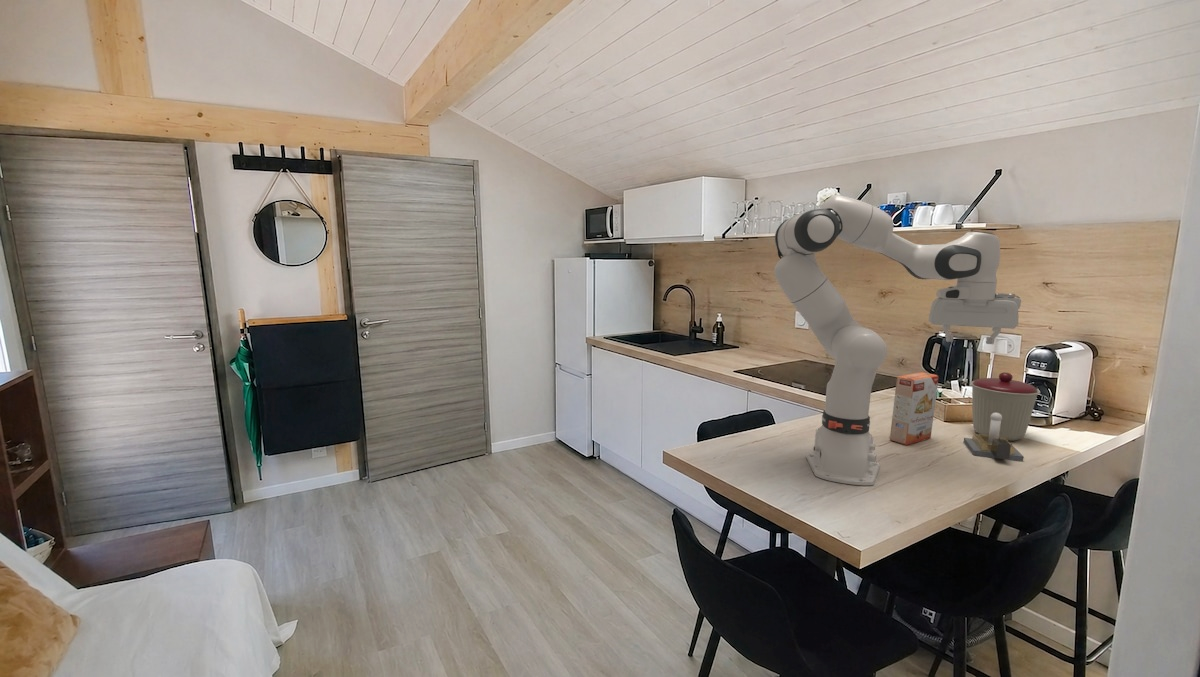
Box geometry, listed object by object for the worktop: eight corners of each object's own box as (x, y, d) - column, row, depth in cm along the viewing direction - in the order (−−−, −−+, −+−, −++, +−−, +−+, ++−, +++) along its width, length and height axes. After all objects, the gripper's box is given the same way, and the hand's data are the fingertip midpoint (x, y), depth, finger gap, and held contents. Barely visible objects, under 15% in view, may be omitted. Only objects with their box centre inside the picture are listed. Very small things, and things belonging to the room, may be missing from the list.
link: (972, 439, 167) (973, 427, 166) (1003, 443, 164) (1004, 430, 163) (985, 456, 153) (987, 442, 153) (1019, 460, 150) (1021, 446, 150)
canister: (1048, 444, 168) (1058, 378, 165) (997, 446, 165) (1006, 379, 162) (997, 425, 186) (1005, 366, 182) (951, 428, 183) (958, 367, 180)
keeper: (1023, 461, 154) (1028, 421, 152) (973, 455, 158) (978, 415, 156) (1009, 447, 164) (1014, 409, 163) (963, 442, 169) (967, 405, 167)
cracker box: (907, 446, 165) (915, 379, 161) (888, 440, 170) (895, 375, 166) (932, 438, 172) (940, 374, 169) (913, 433, 177) (920, 371, 174)
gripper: (1017, 293, 145) (1011, 343, 147) (930, 290, 153) (925, 338, 155) (1026, 294, 139) (1019, 347, 142) (934, 291, 147) (929, 341, 149)
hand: (969, 342), depth 148 cm, fingers open, 8 cm apart
